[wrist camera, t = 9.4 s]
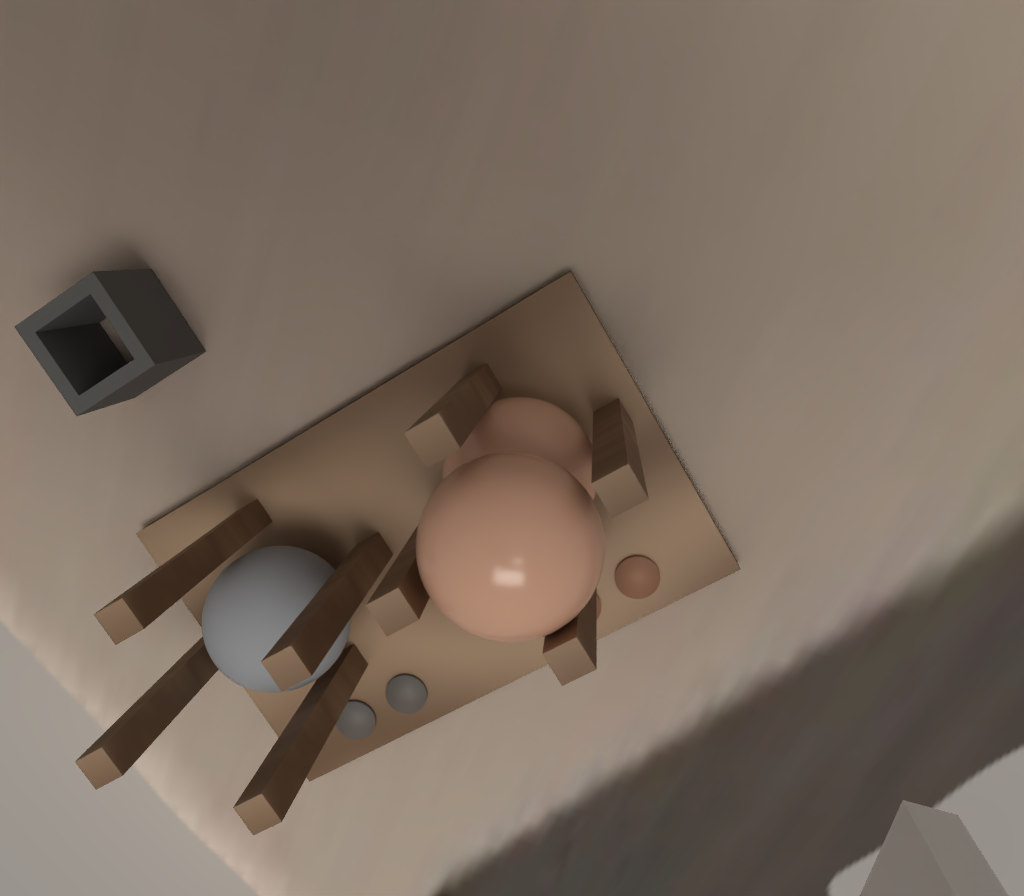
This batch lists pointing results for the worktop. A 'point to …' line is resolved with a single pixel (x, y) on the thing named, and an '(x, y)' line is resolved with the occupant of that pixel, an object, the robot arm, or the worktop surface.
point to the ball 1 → (262, 612)
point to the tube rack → (412, 550)
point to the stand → (90, 353)
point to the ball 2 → (529, 437)
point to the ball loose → (510, 547)
